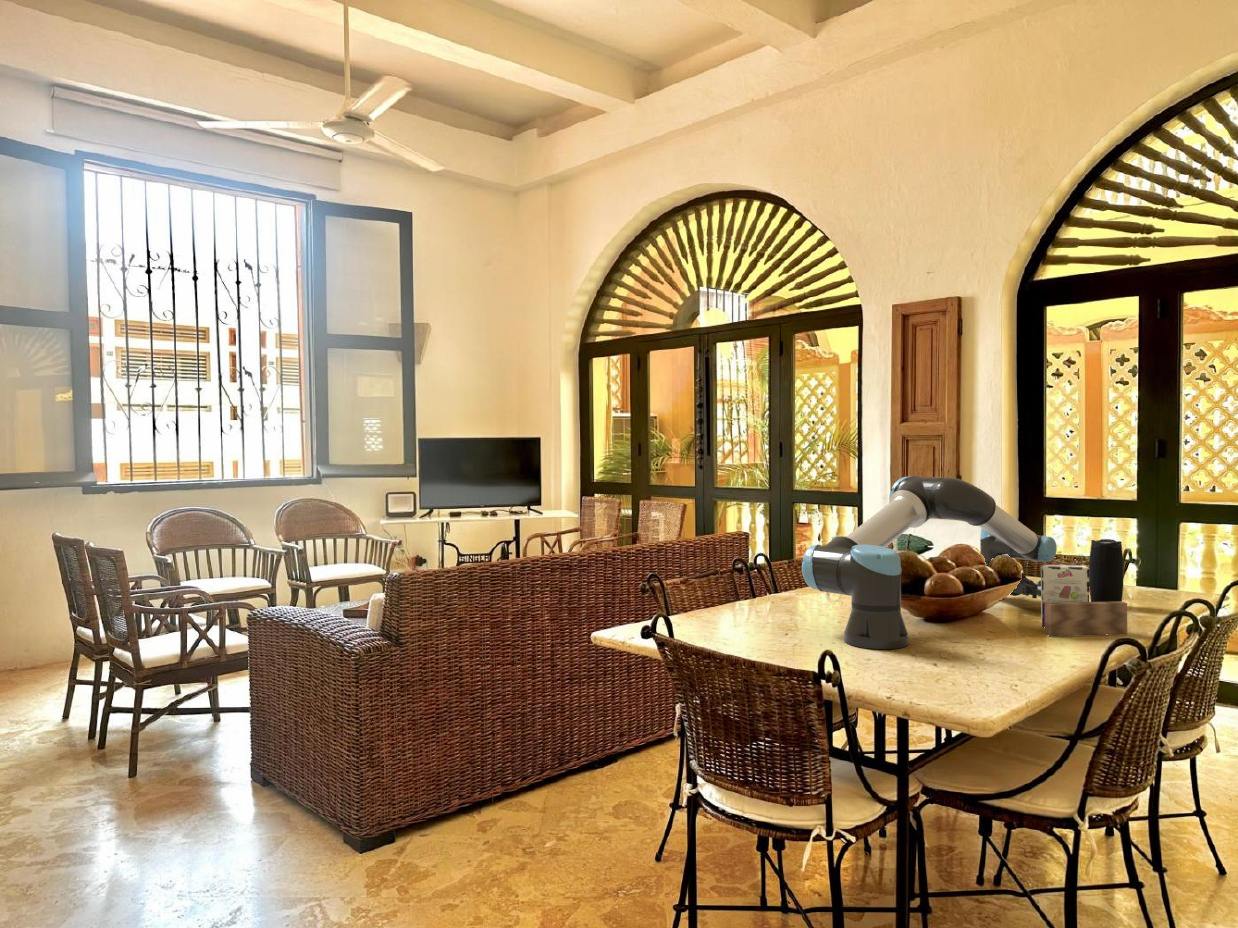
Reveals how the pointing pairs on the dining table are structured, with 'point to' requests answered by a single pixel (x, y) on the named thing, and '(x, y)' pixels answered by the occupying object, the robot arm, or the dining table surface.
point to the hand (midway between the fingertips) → (1053, 595)
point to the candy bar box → (1063, 585)
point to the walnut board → (1085, 618)
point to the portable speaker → (1106, 571)
